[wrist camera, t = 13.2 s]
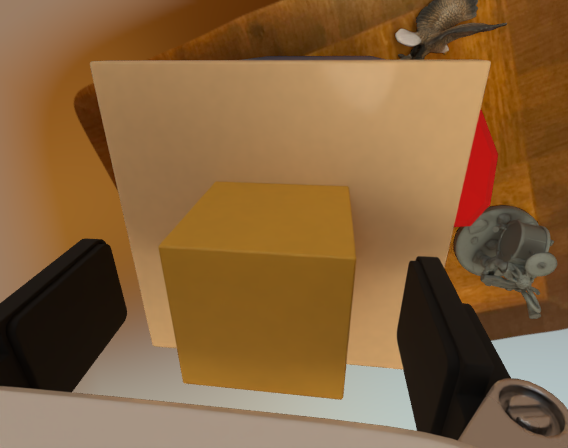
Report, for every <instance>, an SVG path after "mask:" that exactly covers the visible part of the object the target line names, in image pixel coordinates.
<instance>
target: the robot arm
mask: <svg viewBox="0 0 568 448" xmlns="http://www.w3.org/2000/svg"><path fill="white" fill-rule="evenodd" d="M126 316H127V309H126V305H125V301H124V297H123V293H122V289H121V285H120V282H119V278H118V274H117V270H116V266H115V262H114V258H113V254H112V250H111V248H110V246H109V245H108V244H106V243H105V241H103V240H102V239H82V240H80V241H79V242H78V243H77V244H75V245H74V246H73V247H71V248H70V249H69V250H68V251H66V252H65V253H64V254H63V255H61V256H60V257H59V258H58V259H56V260H55V261H54V262H52V263H51V264H50V265H49V266H47V267H46V268H45V269H43V270H42V271H41V272H40V273H38V274H37V275H36V276H34V277H33V278H32V279H31V280H29V281H28V282H27V283H26V284H25V285H23V286H22V287H20V288H19V289H18V290H17V291H15V292H14V293H13V294H12V295H10V296H9V297H8V298H6V299H5V300H4V301H3V302H1V303H0V448H568V409H567V408H566V407H565V405H564V404H563V403H562V402H561V401H560V400H559V399H558V398H556V397H555V396H554V395H553V394H551V393H550V392H548V391H547V390H545V389H544V388H542V387H540V386H538V385H536V384H533V383H531V382H529V381H524V380H520V379H511V377H510V376H509V374H508V372H507V370H506V368H505V366H504V364H503V363H502V361H501V359H500V357H499V355H498V353H497V352H496V350H495V348H494V346H493V344H492V342H491V340H490V339H489V337H488V335H487V333H486V331H485V329H484V328H483V326H482V324H481V322H480V320H479V318H478V317H477V315H476V313H475V311H474V309H473V308H472V306H471V305H469V304H464V303H462V302H461V300H460V298H459V296H458V294H457V292H456V290H455V288H454V286H453V284H452V282H451V281H450V279H449V277H448V275H447V273H446V271H445V269H444V267H443V265H442V263H441V261H440V259H439V258H438V257H426V256H418V257H417V258H416V260H415V261H410V262H409V265H408V270H407V276H406V282H405V288H404V293H403V299H402V305H401V310H400V316H399V322H398V327H397V344H398V348H399V352H400V357H401V361H402V366H403V370H404V375H405V379H406V383H407V388H408V392H409V397H410V401H411V405H412V410H413V414H414V419H415V423H416V428H417V431H414V430H408V429H401V428H395V427H389V426H382V425H373V424H365V423H358V422H349V421H342V420H333V419H325V418H316V417H307V416H297V415H288V414H279V413H270V412H260V411H251V410H241V409H232V408H223V407H212V406H203V405H194V404H183V403H174V402H164V401H153V400H144V399H134V398H124V397H114V396H103V395H93V394H83V393H72V391H73V390H74V389H75V387H76V386H77V385H78V383H79V382H80V381H81V379H82V378H83V376H84V375H85V374H86V373H87V371H88V370H89V368H90V367H91V366H92V364H93V363H94V362H95V360H96V359H97V358H98V356H99V355H100V353H101V352H102V351H103V350H104V348H105V347H106V346H107V344H108V343H109V342H110V340H111V339H112V338H113V336H114V335H115V333H116V332H117V331H118V329H119V328H120V327H121V325H122V324H123V323H124V321H125V319H126Z"/></svg>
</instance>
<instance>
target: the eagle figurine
mask: <svg viewBox="0 0 568 448" xmlns="http://www.w3.org/2000/svg"><path fill="white" fill-rule="evenodd" d="M477 2H478V0H434V1H432V2H431V3H430V4H429V5H428V6H427V7H425V8H424V9H422V10H421V12H420V13H419V16H418V17H417V18H416V19H417V20H416V23H417V27H418V28H417V32H416V33H413V32H410V31H407V30H405V29H400V30H399V31H398V32H397V33H396V34H395V35H396V36H395V37H396V39H397V41H398V42H400V43H401V44H404V45H406V46H414V47H413V49H412V50H411V53H410V54H409V55H407V56H405V55H403V54H398V57H399V58H401V59H400V60H424V57H425V56H426V55H427V54H428V53H430V52H433V53H444V55H445V54H446V53H447V51H449V48H448V46H447V45H446V44H448V43H450V42H451V41H453V40H455V39H458V38H461V37H466V36H470V35H473V34H475V33H478V32H485V31H490V30H494V29H496V28H498V27H501V26H505V25H507V23H502V24H497V25H487V24H483V23H468V24H462V25H458V26H455V25H456V24H458V23H460V22H462V21H466V20H468V19H472V18H474V17H476V11H477V9H478V7H477V6H476V4H477ZM453 26H455V27H453ZM452 27H453V28H452Z"/></svg>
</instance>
